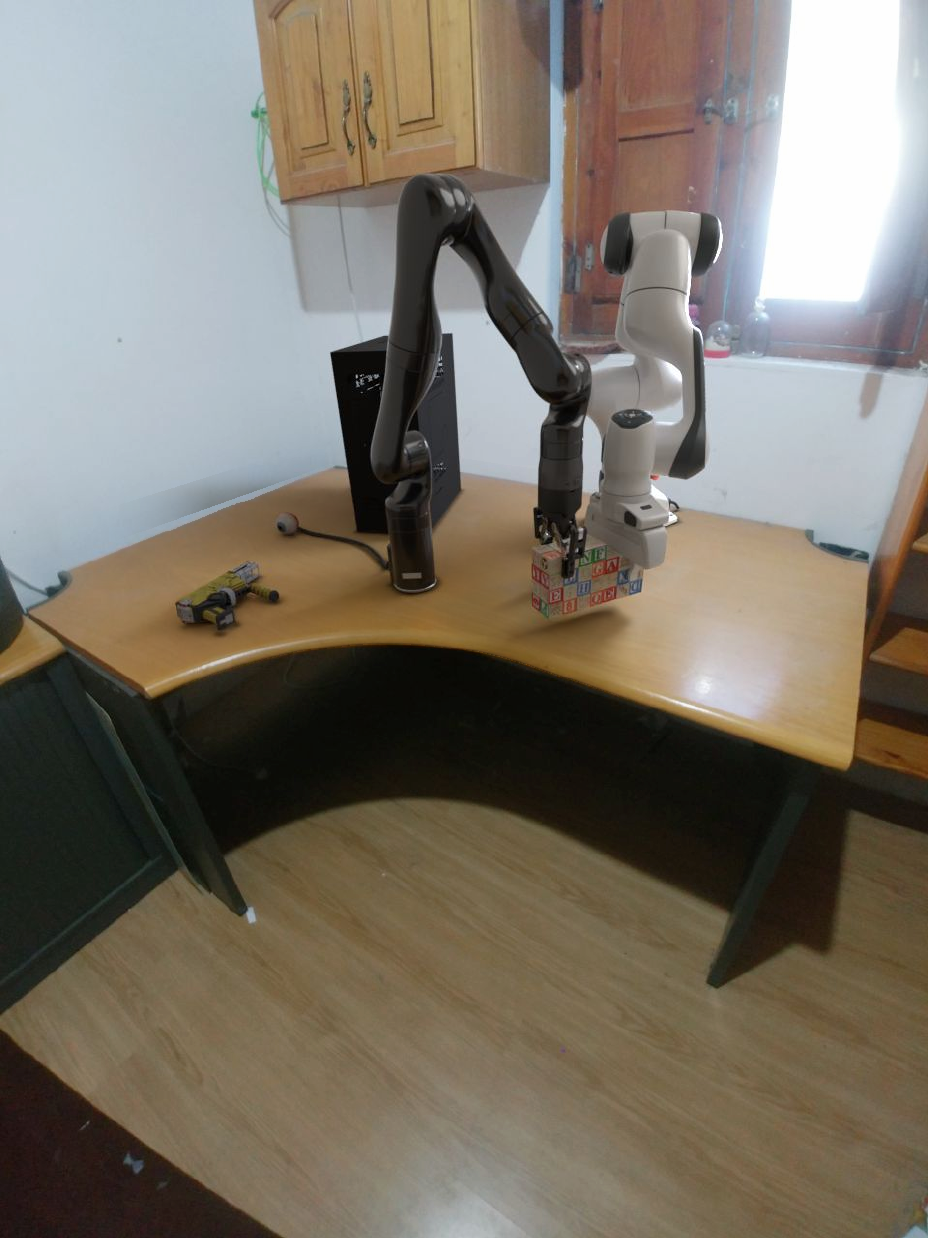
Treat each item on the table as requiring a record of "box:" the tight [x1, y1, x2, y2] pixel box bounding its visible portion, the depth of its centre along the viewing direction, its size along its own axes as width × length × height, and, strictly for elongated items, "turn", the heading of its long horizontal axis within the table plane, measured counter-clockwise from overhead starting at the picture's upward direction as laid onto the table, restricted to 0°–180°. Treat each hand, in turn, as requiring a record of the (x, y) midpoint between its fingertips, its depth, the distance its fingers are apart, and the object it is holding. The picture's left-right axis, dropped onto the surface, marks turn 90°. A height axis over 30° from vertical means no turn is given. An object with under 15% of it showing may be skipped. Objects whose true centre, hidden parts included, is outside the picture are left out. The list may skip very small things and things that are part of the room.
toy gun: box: [174, 560, 280, 631], centre depth 130 cm, size 5×24×15 cm
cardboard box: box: [329, 332, 462, 534], centre depth 166 cm, size 38×20×45 cm, turn 167°
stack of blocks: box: [530, 534, 645, 620], centre depth 114 cm, size 21×6×12 cm, turn 115°
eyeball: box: [275, 511, 300, 536], centre depth 163 cm, size 6×6×6 cm
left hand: (557, 570), depth 111 cm, fingers closed on stack of blocks, 6 cm apart
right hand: (618, 572), depth 117 cm, fingers closed on stack of blocks, 6 cm apart
